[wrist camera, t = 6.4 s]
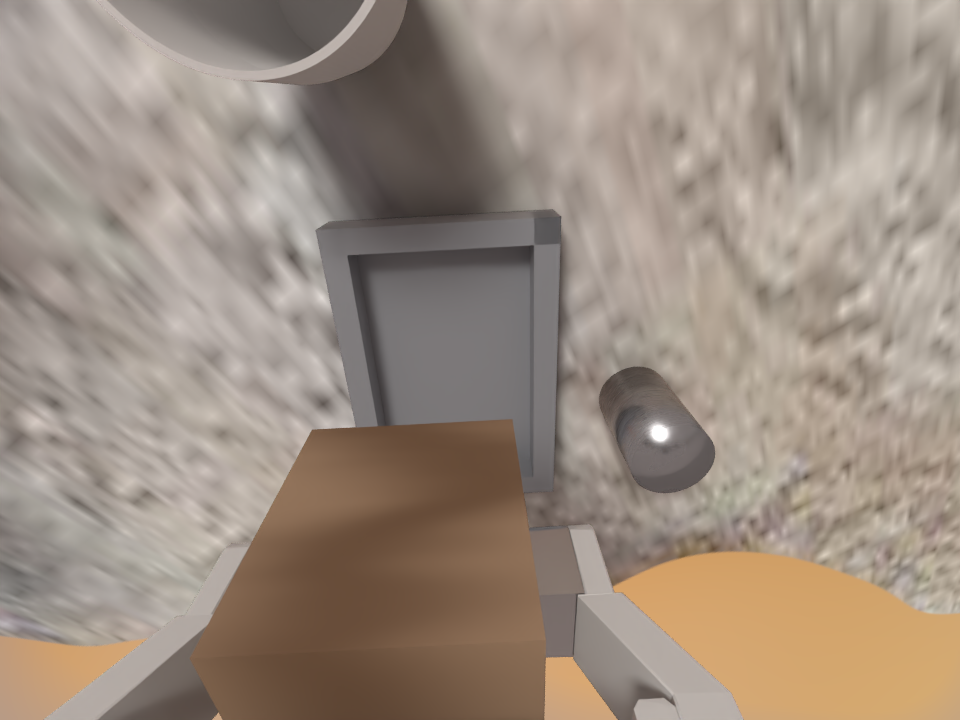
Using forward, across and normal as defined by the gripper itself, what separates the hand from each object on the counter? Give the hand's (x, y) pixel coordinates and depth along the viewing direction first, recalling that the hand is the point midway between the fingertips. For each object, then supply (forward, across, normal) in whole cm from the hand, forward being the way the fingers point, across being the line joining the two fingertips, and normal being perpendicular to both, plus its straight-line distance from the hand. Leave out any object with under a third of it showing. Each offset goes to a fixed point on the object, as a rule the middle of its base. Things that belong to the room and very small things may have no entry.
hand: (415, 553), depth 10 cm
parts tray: (+16, 0, +4) cm, 17 cm away
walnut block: (+2, 0, 0) cm, 2 cm away
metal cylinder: (+16, -11, +6) cm, 21 cm away
